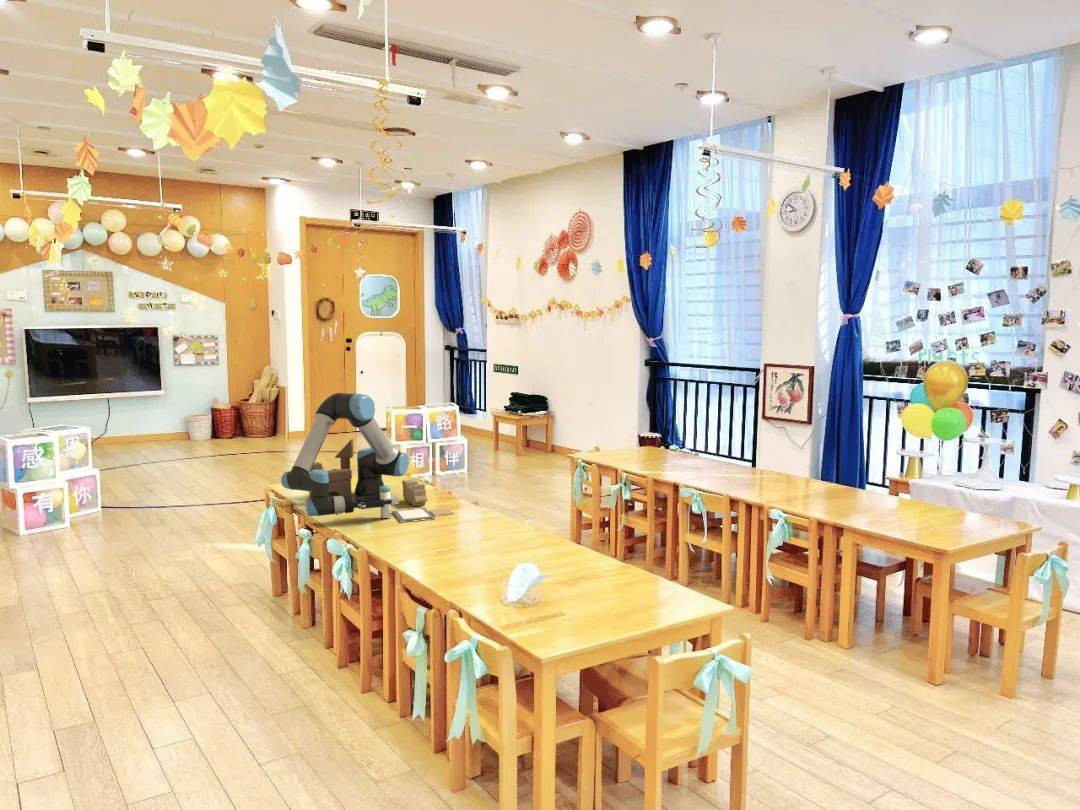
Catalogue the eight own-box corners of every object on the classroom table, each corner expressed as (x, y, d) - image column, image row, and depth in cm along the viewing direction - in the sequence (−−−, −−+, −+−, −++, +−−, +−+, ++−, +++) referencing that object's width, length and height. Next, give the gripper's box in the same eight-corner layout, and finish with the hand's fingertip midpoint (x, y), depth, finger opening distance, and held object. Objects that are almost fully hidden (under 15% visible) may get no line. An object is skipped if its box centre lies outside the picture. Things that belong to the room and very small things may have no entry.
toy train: (416, 508, 367) (415, 486, 366) (402, 500, 381) (401, 480, 380) (427, 506, 370) (426, 485, 368) (413, 498, 384) (412, 478, 383)
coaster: (429, 511, 360) (429, 510, 360) (448, 509, 364) (448, 508, 364) (434, 516, 352) (434, 515, 352) (453, 514, 356) (453, 513, 355)
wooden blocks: (347, 490, 402) (345, 435, 398) (362, 498, 386) (360, 441, 382) (299, 496, 388) (297, 440, 385) (312, 505, 372) (310, 446, 368)
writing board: (392, 512, 358) (392, 510, 358) (424, 509, 364) (424, 507, 364) (400, 522, 342) (400, 520, 342) (434, 519, 348) (434, 517, 347)
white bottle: (379, 516, 351) (378, 485, 349) (389, 515, 352) (389, 485, 351) (381, 519, 346) (380, 488, 345) (392, 518, 348) (391, 487, 346)
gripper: (340, 508, 350) (393, 503, 359) (347, 518, 334) (402, 512, 343) (340, 491, 349) (393, 486, 358) (346, 500, 333) (401, 495, 342)
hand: (397, 499), depth 350 cm, fingers closed on white bottle, 4 cm apart
